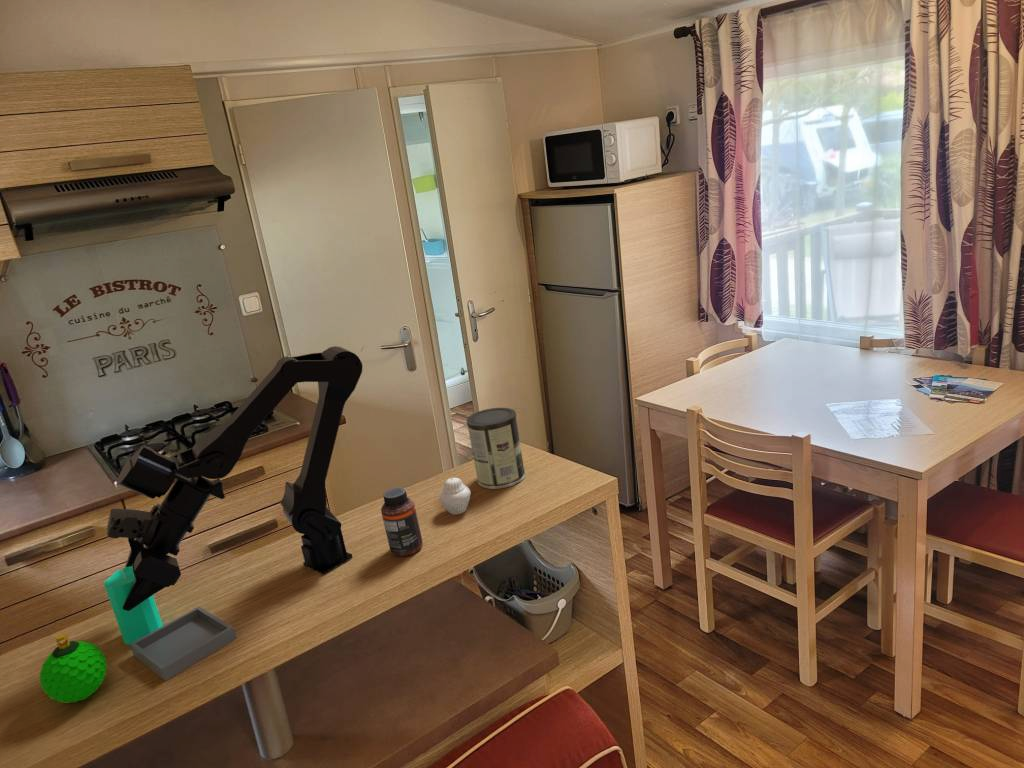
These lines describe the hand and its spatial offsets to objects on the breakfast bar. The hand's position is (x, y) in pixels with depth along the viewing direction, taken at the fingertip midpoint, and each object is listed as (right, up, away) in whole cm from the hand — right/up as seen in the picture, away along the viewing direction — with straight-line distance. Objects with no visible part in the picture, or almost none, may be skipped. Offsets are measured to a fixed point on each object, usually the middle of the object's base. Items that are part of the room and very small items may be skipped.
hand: (123, 596), depth 117 cm
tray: (+11, -7, -3) cm, 13 cm away
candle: (+2, -7, +3) cm, 7 cm away
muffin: (+50, +9, +28) cm, 58 cm away
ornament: (0, -11, -11) cm, 16 cm away
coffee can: (+59, +13, +40) cm, 72 cm away
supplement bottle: (+42, +4, +16) cm, 45 cm away
